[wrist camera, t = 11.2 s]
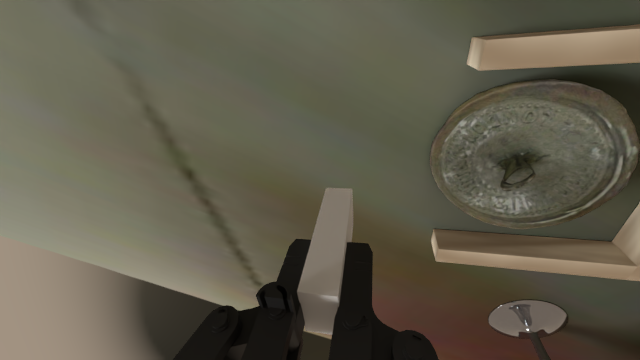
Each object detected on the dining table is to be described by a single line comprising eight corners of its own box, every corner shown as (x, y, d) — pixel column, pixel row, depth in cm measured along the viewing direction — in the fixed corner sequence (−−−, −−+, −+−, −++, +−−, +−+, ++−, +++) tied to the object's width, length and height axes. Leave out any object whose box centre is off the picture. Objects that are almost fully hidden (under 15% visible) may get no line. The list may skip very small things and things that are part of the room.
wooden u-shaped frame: (472, 37, 15) (486, 39, 13) (815, 11, 12) (904, 9, 10) (431, 240, 24) (435, 261, 22) (624, 256, 21) (651, 282, 19)
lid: (552, 210, 20) (597, 259, 16) (421, 203, 22) (430, 245, 18) (624, 67, 15) (719, 86, 11) (441, 76, 17) (460, 94, 13)
